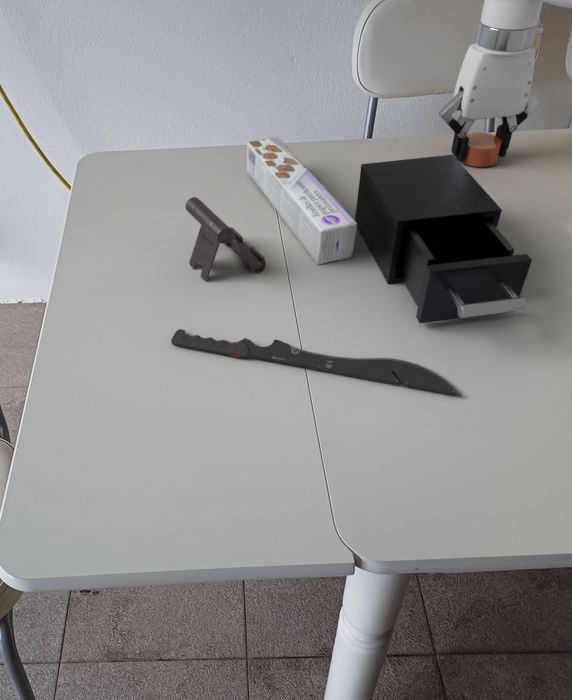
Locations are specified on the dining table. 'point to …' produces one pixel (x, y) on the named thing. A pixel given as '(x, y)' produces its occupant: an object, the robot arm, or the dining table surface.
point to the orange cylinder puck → (482, 149)
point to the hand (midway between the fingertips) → (478, 154)
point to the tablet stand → (218, 240)
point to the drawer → (461, 270)
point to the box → (301, 201)
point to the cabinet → (414, 202)
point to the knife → (324, 362)
